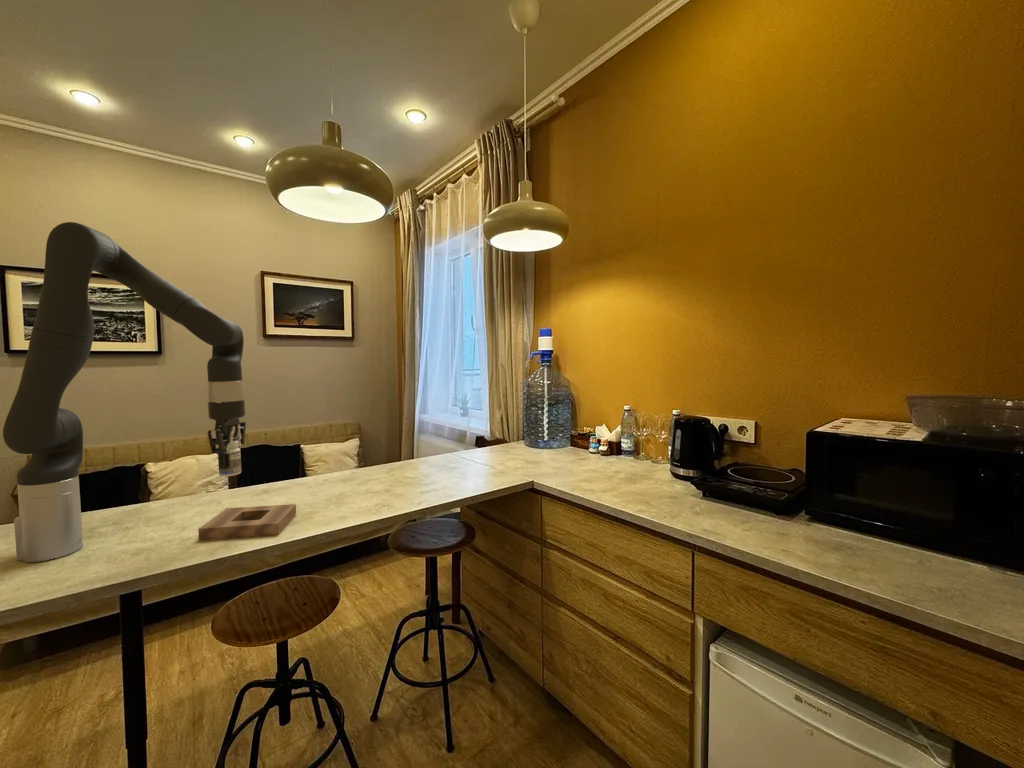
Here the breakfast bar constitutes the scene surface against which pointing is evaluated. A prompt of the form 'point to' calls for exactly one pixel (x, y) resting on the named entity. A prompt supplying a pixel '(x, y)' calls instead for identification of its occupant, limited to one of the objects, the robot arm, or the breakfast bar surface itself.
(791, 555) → the breakfast bar surface
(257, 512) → the socket block
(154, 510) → the breakfast bar surface
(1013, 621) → the breakfast bar surface
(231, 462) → the pill bottle
